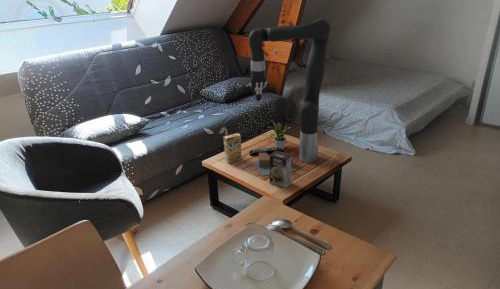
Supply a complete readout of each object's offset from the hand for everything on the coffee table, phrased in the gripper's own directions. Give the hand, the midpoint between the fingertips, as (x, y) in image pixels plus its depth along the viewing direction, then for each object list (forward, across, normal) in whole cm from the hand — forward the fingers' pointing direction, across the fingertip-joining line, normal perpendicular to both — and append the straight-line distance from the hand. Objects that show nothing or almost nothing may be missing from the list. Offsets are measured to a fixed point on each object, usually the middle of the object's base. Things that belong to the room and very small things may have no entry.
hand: (258, 100), depth 194 cm
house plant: (+33, -13, -5) cm, 36 cm away
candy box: (+33, +16, +2) cm, 37 cm away
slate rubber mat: (+33, -4, +16) cm, 37 cm away
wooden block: (+30, +4, +11) cm, 32 cm away
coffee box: (+33, -1, +33) cm, 47 cm away
